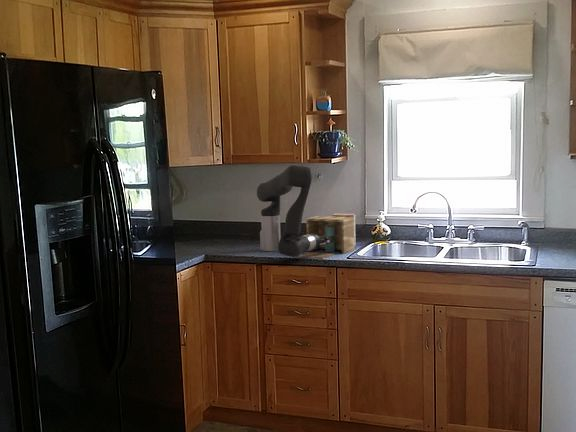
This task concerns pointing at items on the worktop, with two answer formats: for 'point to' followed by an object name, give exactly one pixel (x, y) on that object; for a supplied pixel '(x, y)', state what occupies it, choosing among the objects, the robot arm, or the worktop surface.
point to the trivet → (315, 255)
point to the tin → (328, 233)
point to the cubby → (342, 230)
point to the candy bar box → (347, 216)
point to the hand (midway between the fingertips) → (325, 237)
